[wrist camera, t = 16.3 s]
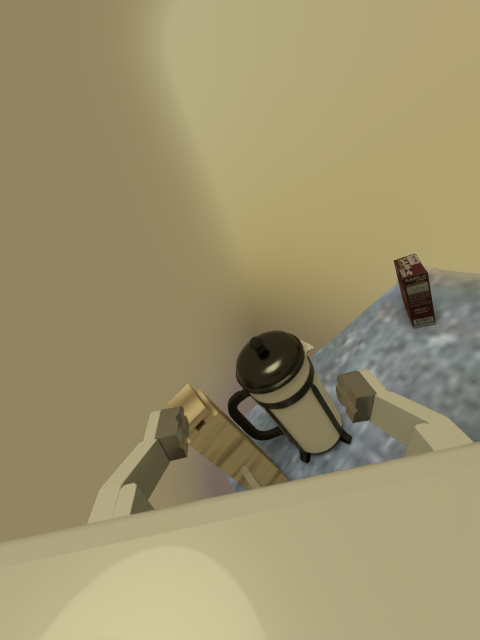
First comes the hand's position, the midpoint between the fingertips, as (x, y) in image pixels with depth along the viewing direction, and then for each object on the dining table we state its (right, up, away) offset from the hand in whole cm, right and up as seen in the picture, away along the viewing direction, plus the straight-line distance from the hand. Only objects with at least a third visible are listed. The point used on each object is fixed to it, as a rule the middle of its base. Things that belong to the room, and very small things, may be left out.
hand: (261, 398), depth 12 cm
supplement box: (+45, +5, +48) cm, 66 cm away
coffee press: (+15, -21, +40) cm, 48 cm away
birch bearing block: (+5, -30, +38) cm, 49 cm away
